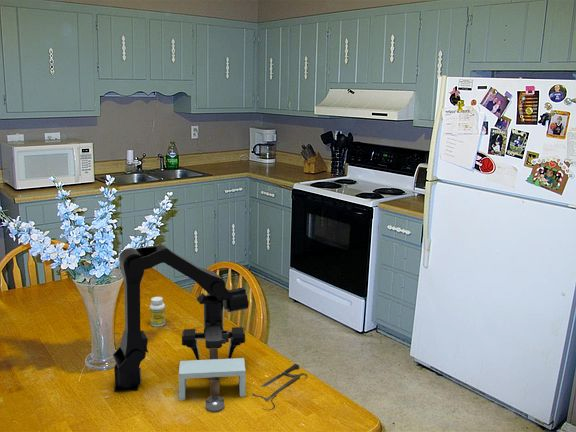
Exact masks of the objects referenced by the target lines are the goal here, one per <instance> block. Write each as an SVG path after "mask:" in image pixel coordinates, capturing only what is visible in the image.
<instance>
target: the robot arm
mask: <svg viewBox="0 0 576 432" xmlns="http://www.w3.org/2000/svg"><path fill="white" fill-rule="evenodd" d="M118 261H119V267H120V270H121V274H122V278H123V282H124V284H123V285H124V330H123V333H122V336H121V342H120V346H119V347H118V348H117V349H116V350H115V352H114V353H113V354H112V357H113V359H114V362H115V365H114V370H113V371H114V388H113V391H114V392H132V391H134V392H135V391H139V386H140V385H141V384H142V383H141V382H142V369H141V368H142V367H140V365H141V362H142V361H143V360H145V358H146V355H147V353H149V350H148V343H149V342H148V341H149V339H148V337H147V335H146V333H145V332H144V330H142V329H141V283H142V280H143V278H144V274H145V271H146V270H149V269H152V268H153V267H155V266H158V265H161V264H163V263H164V264H165V265H167V266H170V268H172V269H174V270H176V271H177V272H179V273H181V274H183V276H186V277H187V278H189V279H191V280H193V281H194V282H195V283H196V284H197V285H198V286H199V287H201V288H202V289H203V290H204V291H205V292H207V294H204V292H202V293H201V294H200V295H199V296H198V297H197V298H196V301H197V302H198V303H199V305H203V332H197V331H196V328H185V329H183V330H182V333H181V345H182V346H183V347H187V348H190V349H191V350H192V352H193V354H194V357H195V360H200V352H199V343H198V340H199V341H200V340H205V348H206V349H208V350H209V349H211V348H218V349H221V348H222V347H223V345H225V344H226V343H229V345H228V355H227V359H232V357H233V354H234V351H235V349H236V348H237V347H238V346H241V345H242V344H245V343H246V332H245V328H244V327H243V326H238V327H237V326H236V327H231V331H229V330H228V329H227V330H225V329H224V310H226V311H227V312H228V313H232V312H238V311H244V310H248V309H249V303H250V301H249V299H248V295H247V293H246V291H247V290H246V289H245V287H242V286H240V287H239V288H234V289H227V287H226V282H225V280H224V279H223V278H222V277H221V276H220V275H219V274H217V272H215V271H212V270H210V269H207V268H202V267H200V266H197V265H195V264H194V263H193V262H191V261H189V260H188V259H186V258H184V257H183V256H181V255H179V254H177V253H176V252H174V251H173V250H171V249H170V248H169V247H167V246H166V245H165V244H159V245H155V246H142V247H138V248H133V247H127V248H125V249H123V250H122V251H121V252H120V253H119V255H118Z"/></svg>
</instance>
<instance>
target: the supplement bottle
mask: <svg viewBox="0 0 576 432" xmlns="http://www.w3.org/2000/svg"><path fill="white" fill-rule="evenodd" d="M149 319H150V320H149V322H150V326H152V327H158V328H159V327H162V326H164V325H166V323H167V320H166V319H167V318H166V304H165V303H164V299H163V297H162V296H154V297H152V298H151V299H150V305H149Z"/></svg>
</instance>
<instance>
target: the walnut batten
mask: <svg viewBox="0 0 576 432" xmlns="http://www.w3.org/2000/svg"><path fill="white" fill-rule="evenodd" d="M218 350H219V348H211V349H208V351H209V354H208V355H209V359H208V360H212V359H219V351H218ZM210 396H220V377H209V397H210Z"/></svg>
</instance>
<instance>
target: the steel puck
mask: <svg viewBox="0 0 576 432" xmlns="http://www.w3.org/2000/svg"><path fill="white" fill-rule="evenodd" d="M205 409H206V411H208V412H211V413H219V412H221V411H223V410H224V409H225V398H224V397H222V396H221V395H219V396H210V395H209V397H207V398H206V399H205Z"/></svg>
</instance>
